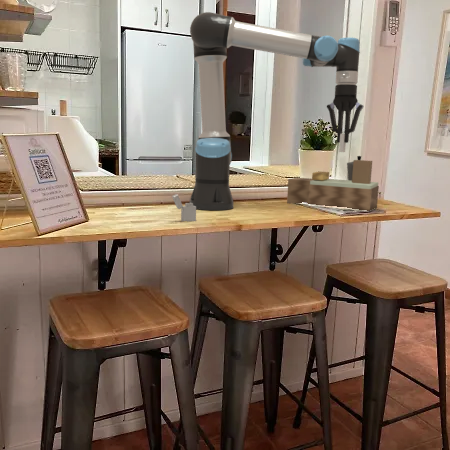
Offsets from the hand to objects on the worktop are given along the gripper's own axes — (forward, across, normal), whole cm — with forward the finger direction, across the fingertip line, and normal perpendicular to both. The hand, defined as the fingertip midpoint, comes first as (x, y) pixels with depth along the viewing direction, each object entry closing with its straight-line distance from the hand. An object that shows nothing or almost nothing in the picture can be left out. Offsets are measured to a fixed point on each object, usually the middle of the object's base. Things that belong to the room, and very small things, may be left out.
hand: (342, 151), depth 183 cm
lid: (+14, +2, 0) cm, 14 cm away
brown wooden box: (+20, -3, 0) cm, 20 cm away
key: (+10, -7, 0) cm, 13 cm away
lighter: (+20, -30, -59) cm, 69 cm away
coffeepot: (+20, +2, +18) cm, 27 cm away
